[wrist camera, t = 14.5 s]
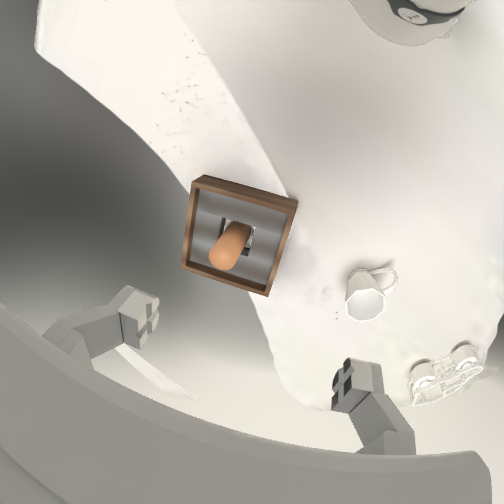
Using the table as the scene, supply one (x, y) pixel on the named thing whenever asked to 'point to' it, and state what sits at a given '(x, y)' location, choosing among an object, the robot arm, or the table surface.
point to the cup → (366, 295)
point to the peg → (229, 245)
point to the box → (244, 211)
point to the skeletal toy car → (444, 374)
